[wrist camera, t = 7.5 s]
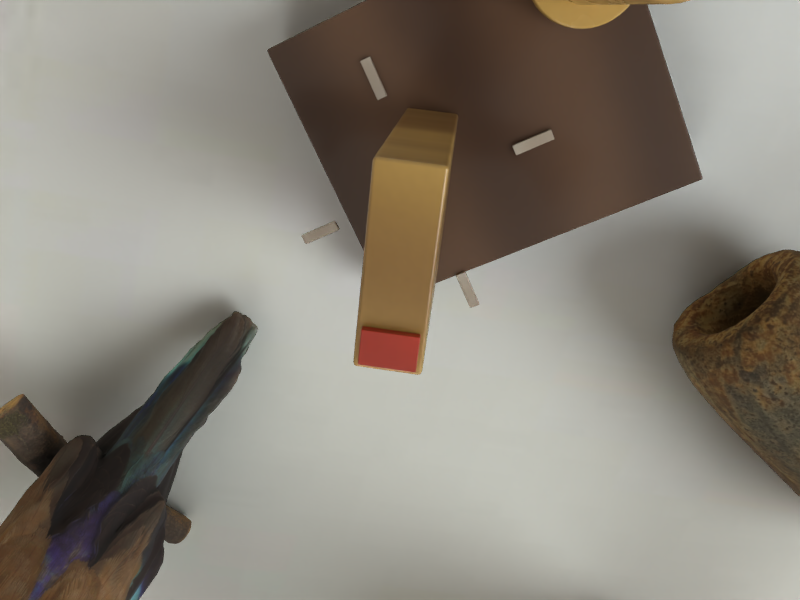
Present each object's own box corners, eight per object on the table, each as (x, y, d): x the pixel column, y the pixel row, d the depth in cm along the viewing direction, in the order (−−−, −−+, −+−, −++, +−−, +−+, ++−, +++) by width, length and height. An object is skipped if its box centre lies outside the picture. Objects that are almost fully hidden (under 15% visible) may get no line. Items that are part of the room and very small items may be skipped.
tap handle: (406, 107, 26) (371, 158, 17) (458, 113, 25) (449, 168, 17) (390, 257, 28) (350, 371, 19) (438, 264, 28) (420, 381, 19)
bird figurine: (135, 224, 30) (-373, 750, 18) (331, 367, 32) (-9, 935, 20) (83, 343, 40) (-260, 727, 28) (233, 446, 42) (-30, 849, 30)
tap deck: (595, -109, 25) (608, -122, 22) (695, 197, 28) (716, 215, 26) (241, 67, 28) (218, 73, 26) (368, 322, 31) (359, 349, 29)
